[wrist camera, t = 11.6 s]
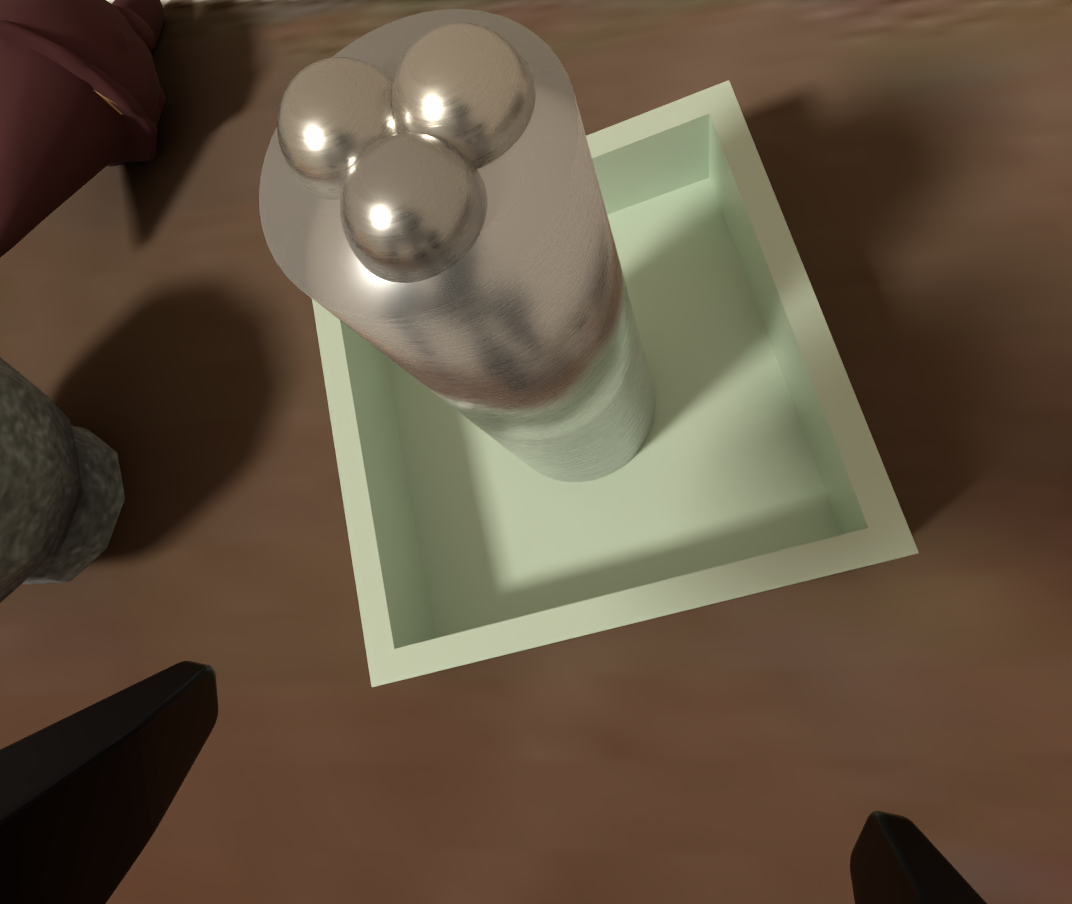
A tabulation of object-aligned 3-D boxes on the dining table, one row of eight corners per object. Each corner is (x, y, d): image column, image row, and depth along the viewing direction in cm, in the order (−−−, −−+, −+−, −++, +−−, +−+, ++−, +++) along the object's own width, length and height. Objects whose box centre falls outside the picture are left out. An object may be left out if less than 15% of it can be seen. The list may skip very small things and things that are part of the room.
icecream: (10, 214, 20) (169, -127, 24) (-213, 175, 21) (-20, -155, 25) (138, 318, 27) (246, 37, 31) (-33, 288, 27) (97, 13, 31)
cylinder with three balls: (688, 418, 19) (645, 92, 7) (558, 513, 20) (306, 358, 8) (595, 305, 21) (430, -118, 9) (476, 395, 21) (159, 109, 9)
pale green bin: (880, 562, 18) (918, 553, 15) (426, 674, 20) (371, 687, 17) (725, 160, 22) (728, 80, 18) (359, 295, 24) (304, 246, 21)
